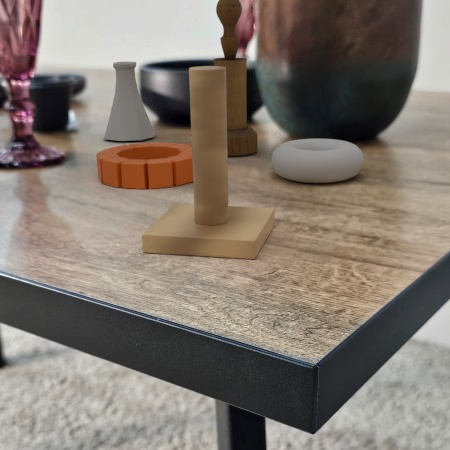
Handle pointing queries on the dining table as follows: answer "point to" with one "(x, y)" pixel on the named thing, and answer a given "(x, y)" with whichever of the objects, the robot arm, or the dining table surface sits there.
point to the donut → (317, 160)
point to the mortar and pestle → (235, 82)
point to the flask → (127, 108)
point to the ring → (146, 165)
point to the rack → (209, 187)
